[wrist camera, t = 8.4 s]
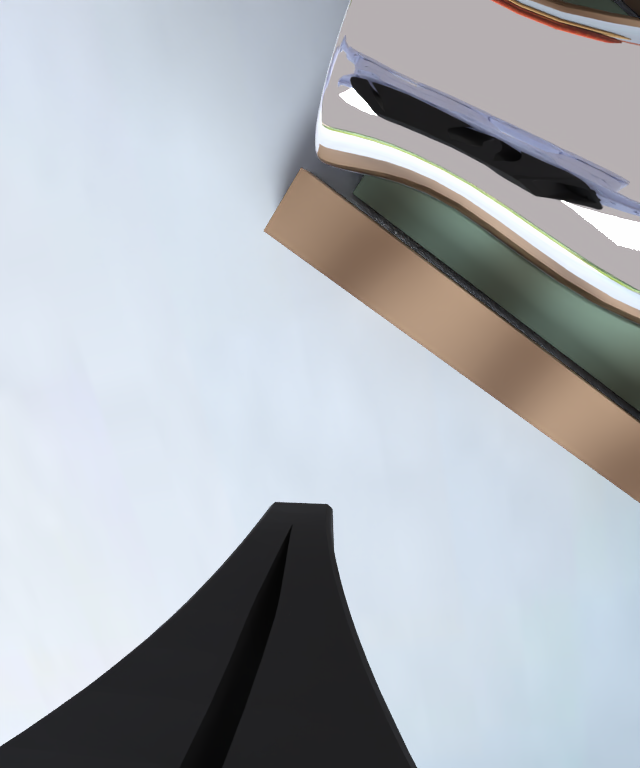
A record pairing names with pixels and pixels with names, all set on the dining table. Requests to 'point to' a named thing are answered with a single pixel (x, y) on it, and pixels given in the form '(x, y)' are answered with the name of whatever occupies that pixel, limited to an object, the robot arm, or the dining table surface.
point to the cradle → (479, 309)
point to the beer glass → (502, 127)
